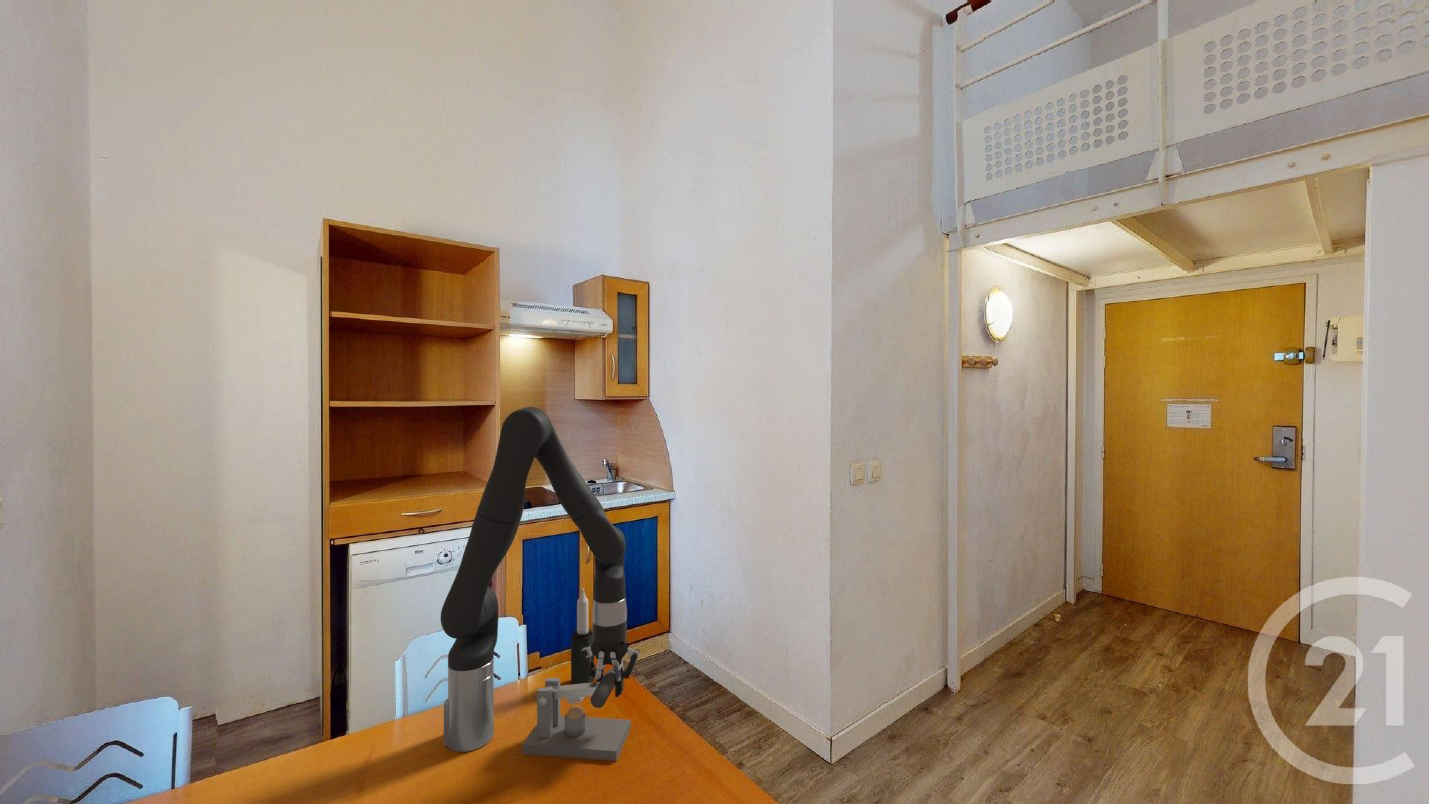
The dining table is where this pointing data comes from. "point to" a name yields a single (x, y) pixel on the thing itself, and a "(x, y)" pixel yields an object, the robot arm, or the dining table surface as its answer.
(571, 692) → the lever
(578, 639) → the black and grey rod
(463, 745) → the robot arm
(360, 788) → the dining table surface
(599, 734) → the base
